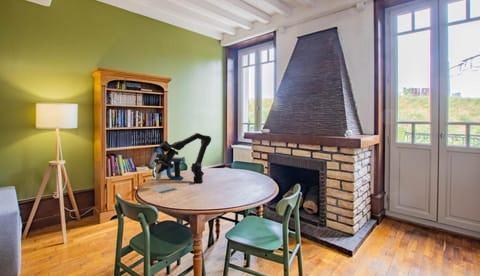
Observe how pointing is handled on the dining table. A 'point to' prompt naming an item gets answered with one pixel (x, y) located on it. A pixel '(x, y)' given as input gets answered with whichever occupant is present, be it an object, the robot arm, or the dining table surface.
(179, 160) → the handheld scanner
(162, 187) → the board
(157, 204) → the dining table surface
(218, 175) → the dining table surface
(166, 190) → the strip
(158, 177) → the birch peg
